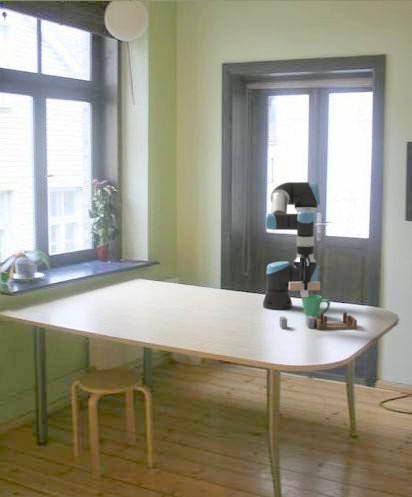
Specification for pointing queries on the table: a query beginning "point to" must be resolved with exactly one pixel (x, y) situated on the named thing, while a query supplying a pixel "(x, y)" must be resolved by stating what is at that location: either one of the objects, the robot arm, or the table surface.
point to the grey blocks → (308, 322)
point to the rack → (335, 323)
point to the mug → (313, 305)
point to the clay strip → (298, 286)
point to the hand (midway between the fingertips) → (304, 296)
